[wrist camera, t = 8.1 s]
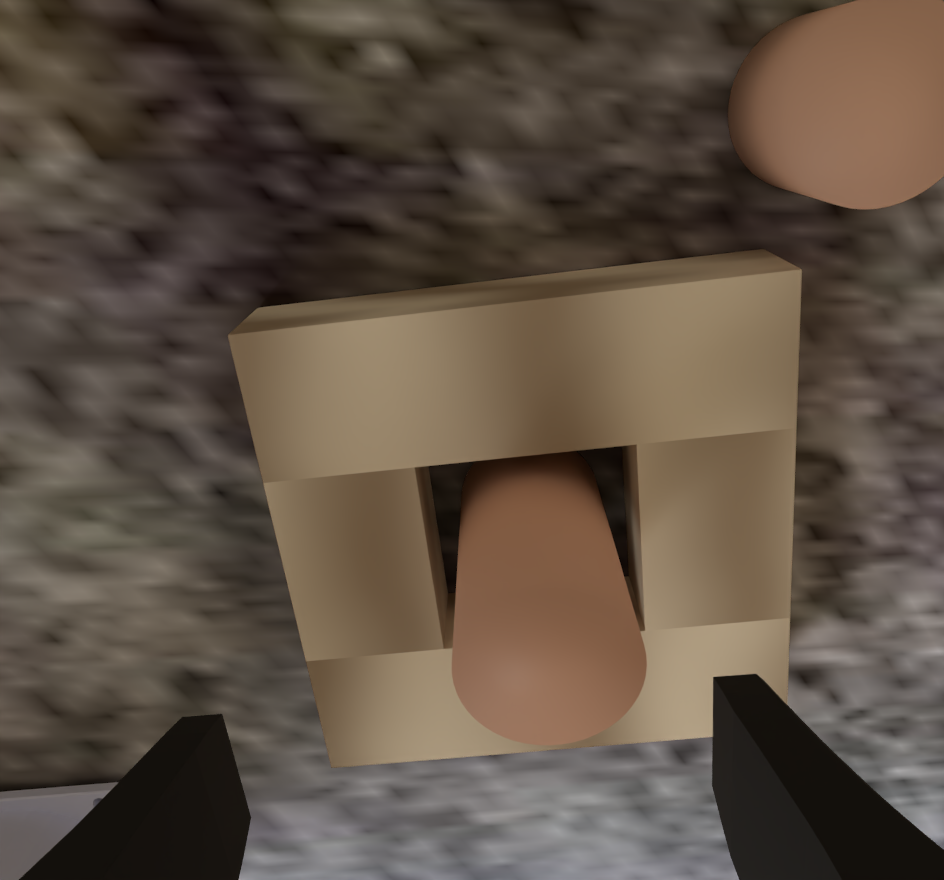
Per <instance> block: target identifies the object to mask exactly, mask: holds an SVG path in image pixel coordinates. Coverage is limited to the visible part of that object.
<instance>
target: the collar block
mask: <svg viewBox="0 0 944 880" xmlns="http://www.w3.org/2000/svg"><path fill="white" fill-rule="evenodd" d="M801 279H802V269H800V268H798V267H796V266H795V265H793V264H791V263H789V262H787V261H785V260H783V259H781V258H780V257H778V256H776V255H774V254H772V253H770V252H768V251H766V250H764V249H758V250H749V251H741V252H732V253H724V254H715V255H707V256H698V257H689V258H681V259H672V260H664V261H655V262H646V263H638V264H629V265H621V266H612V267H603V268H595V269H586V270H578V271H569V272H561V273H552V274H543V275H535V276H526V277H518V278H509V279H500V280H492V281H483V282H475V283H466V284H457V285H449V286H440V287H432V288H423V289H415V290H406V291H397V292H389V293H380V294H372V295H363V296H354V297H346V298H337V299H329V300H320V301H311V302H303V303H294V304H286V305H277V306H268V307H260V308H257V309H256V310H255V311H254V312H253V313H252V314H250V315H249V316H248V317H247V318H246V319H245V320H244V321H243V322H242V323H241V324H239V325H238V326H237V327H236V328H235V329H234V330H233V331H232V332H231V333H230V334H228V338H229V343H230V347H231V351H232V355H233V359H234V363H235V368H236V372H237V376H238V380H239V384H240V388H241V393H242V397H243V401H244V405H245V409H246V413H247V418H248V422H249V426H250V430H251V434H252V438H253V443H254V447H255V451H256V455H257V459H258V463H259V468H260V472H261V476H262V480H263V484H264V488H265V493H266V497H267V501H268V505H269V509H270V513H271V518H272V522H273V526H274V530H275V534H276V538H277V543H278V547H279V551H280V555H281V559H282V563H283V568H284V572H285V576H286V580H287V584H288V588H289V593H290V597H291V601H292V605H293V609H294V613H295V618H296V622H297V626H298V630H299V634H300V638H301V643H302V647H303V651H304V655H305V659H306V663H307V668H308V672H309V676H310V680H311V684H312V688H313V693H314V697H315V701H316V705H317V709H318V713H319V718H320V722H321V726H322V730H323V734H324V738H325V743H326V747H327V751H328V755H329V759H330V763H331V768H337V767H349V766H361V765H373V764H385V763H398V762H410V761H422V760H434V759H447V758H459V757H471V756H483V755H496V754H508V753H520V752H532V751H544V750H557V749H569V748H581V747H593V746H606V745H618V744H630V743H642V742H655V741H667V740H679V739H691V738H703V737H713V677H718V676H732V675H745V674H757V675H758V676H760V677H761V678H762V679H763V680H764V681H765V682H766V683H767V684H768V685H769V686H770V687H771V688H772V689H773V690H774V691H775V692H776V694H777V695H778V696H779V697H780V698H781V699H782V700H783V701H784V702H785V703H786V704H787V695H788V665H789V636H790V606H791V576H792V546H793V517H794V487H795V457H796V428H797V398H798V368H799V338H800V309H801ZM617 446H622V459H623V477H624V496H625V514H626V533H627V551H628V569H629V576H627V577H624V578H625V581H626V585H627V588H628V592H629V595H630V598H631V602H632V605H633V609H634V612H635V615H636V619H637V622H638V626H639V629H640V633H641V636H642V639H643V643H644V647H645V651H646V658H647V669H646V677H645V681H644V684H643V687H642V690H641V692H640V694H639V696H638V698H637V699H636V701H635V703H634V704H633V706H632V707H631V708H630V709H629V710H628V712H627V713H626V714H625V715H624V716H623V717H622V718H621V719H620V720H618V721H617V722H616V723H615V724H613V725H612V726H610V727H609V728H607V729H606V730H604V731H602V732H600V733H598V734H596V735H594V736H592V737H589V738H587V739H584V740H580V741H577V742H573V743H567V744H561V745H533V744H526V743H521V742H517V741H513V740H510V739H508V738H505V737H502V736H500V735H498V734H496V733H494V732H492V731H491V730H489V729H487V728H486V727H484V726H483V725H482V724H480V723H479V722H478V721H477V720H476V719H474V717H473V716H472V715H471V714H470V713H469V712H468V711H467V710H466V708H465V707H464V705H463V704H462V703H461V701H460V699H459V697H458V695H457V693H456V690H455V687H454V684H453V678H452V649H453V632H454V615H455V598H456V593H448V590H447V584H446V577H445V571H444V564H443V558H442V551H441V545H440V538H439V532H438V525H437V519H436V512H435V506H434V499H433V493H432V486H431V480H430V473H429V467H428V466H433V465H443V464H453V463H462V462H472V461H482V460H491V459H501V458H511V457H520V456H530V455H540V454H549V453H559V452H569V451H578V450H588V449H598V448H608V447H617Z"/></svg>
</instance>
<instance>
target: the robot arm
mask: <svg viewBox="0 0 944 880" xmlns="http://www.w3.org/2000/svg"><path fill="white" fill-rule="evenodd" d="M712 787H713V791H714V794H715V798H716V802H717V806H718V810H719V814H720V818H721V822H722V826H723V830H724V833H725V837H726V841H727V844H728V848H729V852H730V856H731V859H732V861H733V864H734V867H735V869H736V872H737V875H738V877H739V880H944V850H943V849H942V848H941V847H940V846H938V845H937V844H936V843H935V842H933V841H932V840H931V839H930V838H929V837H927V836H926V835H925V834H924V833H923V832H921V831H920V830H919V829H918V828H917V827H916V826H914V825H913V824H912V823H911V822H910V821H909V820H907V819H906V818H905V817H904V816H903V815H901V814H900V813H899V812H898V811H897V810H896V809H894V808H893V807H892V806H891V805H890V804H889V803H888V802H887V801H886V800H884V799H883V798H882V797H881V796H880V795H879V794H878V793H877V792H875V791H874V790H873V789H872V788H871V787H870V786H869V785H868V784H867V783H866V782H865V781H864V780H863V779H862V778H860V777H859V776H858V775H857V774H856V773H855V772H854V771H853V770H852V769H851V768H850V767H849V766H848V765H847V764H846V763H845V762H843V761H842V760H841V759H840V758H839V757H838V756H837V755H836V754H835V753H834V752H833V751H832V750H831V749H830V748H829V747H828V746H827V745H826V744H825V743H824V742H823V741H822V740H821V739H820V738H819V737H818V736H817V735H816V734H815V733H814V732H813V731H812V730H811V729H810V728H809V727H808V726H807V725H806V724H805V723H804V722H803V721H802V720H801V719H800V718H799V717H798V716H797V715H796V714H795V713H794V712H793V710H792V709H791V708H790V707H789V706H788V705H787V704H786V703H785V702H784V701H783V700H782V699H781V698H780V697H779V696H778V695H777V694H776V692H775V691H774V690H773V689H772V688H771V687H770V686H769V685H768V684H767V683H766V682H765V681H764V680H763V679H762V678H761V677H760V676H758V675H757V674H745V675H732V676H718V677H713V760H712ZM101 798H102V799H101ZM250 820H251V816H250V812H249V809H248V805H247V801H246V798H245V794H244V791H243V787H242V784H241V780H240V776H239V773H238V769H237V766H236V762H235V758H234V755H233V751H232V748H231V744H230V740H229V737H228V733H227V730H226V726H225V723H224V719H223V715H222V714H217V715H204V716H191V717H182V718H181V719H180V720H179V721H178V722H177V723H176V724H175V725H174V726H173V727H172V728H171V729H170V730H169V731H168V732H167V733H166V734H165V735H164V736H163V737H162V738H161V739H160V740H159V741H158V742H157V743H156V744H155V745H154V746H153V747H152V748H151V749H150V750H149V751H148V752H147V753H146V754H145V755H144V756H143V758H142V759H141V760H140V761H139V762H138V763H137V764H136V765H135V766H134V767H133V768H132V769H131V770H130V771H129V772H128V773H127V774H126V775H125V776H124V777H123V778H122V779H121V780H120V781H119V782H114V783H101V784H89V785H77V786H65V787H53V788H40V789H28V790H16V791H4V792H0V880H238V879H239V874H240V870H241V865H242V861H243V856H244V851H245V846H246V841H247V836H248V830H249V825H250Z"/></svg>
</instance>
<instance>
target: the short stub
mask: <svg viewBox="0 0 944 880" xmlns="http://www.w3.org/2000/svg"><path fill="white" fill-rule="evenodd" d="M728 126H729V132H730V137H731V140H732V143H733V146H734V148H735V150H736V152H737V154H738V156H739V158H740V159H741V161H742V162H743V164H744V165H745V166H746V167H747V168H748V169H749V170H750V172H751V173H753V174H754V175H755V176H756V177H758V178H759V179H761V180H762V181H764V182H766V183H768V184H770V185H773V186H775V187H778V188H781V189H784V190H788V191H791V192H794V193H798V194H801V195H805V196H808V197H811V198H815V199H818V200H821V201H825V202H828V203H831V204H835V205H838V206H842V207H847V208H851V209H878V208H883V207H889V206H892V205H895V204H898V203H902V202H904V201H906V200H908V199H911V198H913V197H915V196H917V195H918V194H920V193H922V192H923V191H925V190H927V189H928V188H929V187H931V186H932V185H933V184H935V183H936V182H937V181H939V180H940V179H941V178H942V177H943V176H944V1H942V0H857V1H853V2H849V3H846V4H842V5H838V6H834V7H831V8H827V9H823V10H819V11H816V12H812V13H808V14H804V15H801V16H798V17H795V18H793V19H790V20H788V21H786V22H784V23H782V24H781V25H779V26H778V27H776V28H775V29H773V30H772V31H770V32H769V33H768V34H767V35H765V36H764V37H763V38H762V39H761V40H760V41H759V42H758V43H757V44H756V45H755V46H754V47H753V49H752V50H751V51H750V53H749V54H748V55H747V57H746V58H745V60H744V61H743V63H742V65H741V67H740V68H739V70H738V73H737V75H736V77H735V80H734V82H733V86H732V89H731V92H730V98H729V104H728Z"/></svg>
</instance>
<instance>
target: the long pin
mask: <svg viewBox="0 0 944 880" xmlns="http://www.w3.org/2000/svg"><path fill="white" fill-rule="evenodd" d="M646 669H647V658H646V651H645V647H644V643H643V639H642V636H641V633H640V629H639V626H638V622H637V619H636V615H635V612H634V609H633V605H632V602H631V598H630V595H629V592H628V588H627V585H626V581H625V578H624V574H623V571H622V568H621V564H620V561H619V557H618V554H617V551H616V547H615V544H614V540H613V537H612V533H611V530H610V527H609V523H608V520H607V516H606V513H605V510H604V506H603V503H602V499H601V496H600V493H599V489H598V486H597V482H596V479H595V476H594V474H593V472H592V470H591V468H590V466H589V465H588V463H587V462H586V461H585V459H584V458H583V457H582V456H581V455H580V454H579V453H578V452H577V451H569V452H559V453H549V454H540V455H530V456H520V457H511V458H501V459H491V460H482V461H475V462H474V463H473V465H472V466H471V468H470V469H469V471H468V473H467V475H466V477H465V480H464V483H463V488H462V495H461V512H460V529H459V546H458V563H457V581H456V598H455V615H454V632H453V649H452V678H453V684H454V687H455V690H456V693H457V695H458V697H459V699H460V701H461V703H462V704H463V705H464V707H465V708H466V710H467V711H468V712H469V713H470V714H471V715H472V716H473V717H474V719H476V720H477V721H478V722H479V723H480V724H482V725H483V726H484V727H486V728H487V729H489V730H491V731H492V732H494V733H496V734H498V735H500V736H502V737H505V738H508V739H510V740H513V741H517V742H521V743H526V744H533V745H561V744H567V743H573V742H577V741H580V740H584V739H587V738H589V737H592V736H594V735H596V734H598V733H600V732H602V731H604V730H606V729H607V728H609V727H610V726H612V725H613V724H615V723H616V722H617V721H618V720H620V719H621V718H622V717H623V716H624V715H625V714H626V713H627V712H628V710H629V709H630V708H631V707H632V706H633V704H634V703H635V701H636V699H637V698H638V696H639V694H640V692H641V690H642V687H643V684H644V681H645V677H646Z"/></svg>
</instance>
